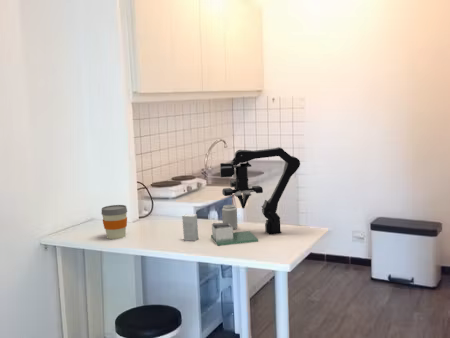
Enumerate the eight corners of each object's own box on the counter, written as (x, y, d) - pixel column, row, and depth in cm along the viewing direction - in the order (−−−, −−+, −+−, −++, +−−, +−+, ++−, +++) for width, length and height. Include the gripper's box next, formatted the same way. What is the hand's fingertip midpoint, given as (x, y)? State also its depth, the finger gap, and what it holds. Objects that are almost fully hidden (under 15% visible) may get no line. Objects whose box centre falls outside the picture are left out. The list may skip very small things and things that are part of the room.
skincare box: (198, 238, 249) (197, 214, 247) (195, 241, 245) (193, 216, 243) (187, 238, 251) (185, 213, 249) (183, 240, 247) (181, 215, 245)
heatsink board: (249, 233, 254) (248, 217, 253) (258, 241, 239) (257, 224, 238) (211, 236, 251) (210, 220, 250) (217, 245, 235) (216, 228, 234)
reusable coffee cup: (98, 237, 260) (96, 208, 258) (119, 232, 269) (117, 203, 267) (113, 241, 251) (110, 211, 249) (134, 235, 261) (131, 206, 259)
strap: (226, 224, 245) (226, 222, 245) (228, 225, 241) (228, 224, 241) (212, 224, 244) (212, 223, 243) (214, 226, 240) (214, 225, 240)
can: (238, 226, 268) (237, 203, 266) (237, 230, 260) (235, 207, 259) (223, 227, 269) (222, 204, 267) (222, 230, 261) (221, 207, 260)
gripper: (256, 172, 258) (257, 203, 260) (219, 175, 254) (221, 206, 256) (262, 175, 247) (263, 207, 249) (224, 178, 243) (225, 211, 245)
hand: (243, 208), depth 250 cm, fingers closed
